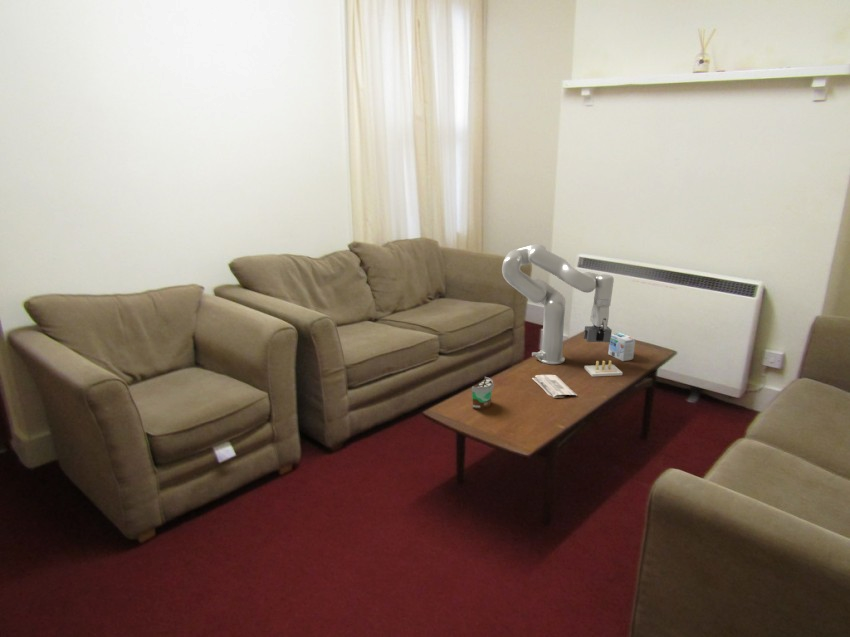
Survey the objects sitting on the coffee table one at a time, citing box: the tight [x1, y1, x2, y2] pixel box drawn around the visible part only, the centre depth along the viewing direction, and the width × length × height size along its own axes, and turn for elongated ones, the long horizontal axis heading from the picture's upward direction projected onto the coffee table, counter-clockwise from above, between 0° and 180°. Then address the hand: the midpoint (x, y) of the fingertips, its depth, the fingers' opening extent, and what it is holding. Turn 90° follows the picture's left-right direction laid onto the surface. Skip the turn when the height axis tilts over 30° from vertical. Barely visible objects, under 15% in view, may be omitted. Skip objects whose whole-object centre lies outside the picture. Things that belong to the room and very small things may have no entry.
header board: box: [583, 359, 623, 378], centre depth 260 cm, size 14×10×5 cm
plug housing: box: [583, 325, 613, 343], centre depth 266 cm, size 11×5×6 cm, turn 96°
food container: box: [470, 376, 495, 410], centre depth 227 cm, size 12×6×10 cm, turn 148°
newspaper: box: [531, 374, 578, 399], centre depth 245 cm, size 23×12×2 cm, turn 10°
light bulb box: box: [607, 332, 636, 362], centre depth 277 cm, size 11×7×11 cm, turn 25°
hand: (597, 338), depth 266 cm, fingers closed on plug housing, 5 cm apart
